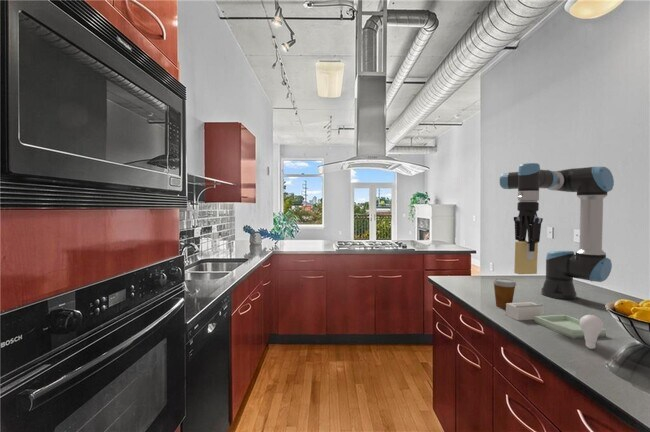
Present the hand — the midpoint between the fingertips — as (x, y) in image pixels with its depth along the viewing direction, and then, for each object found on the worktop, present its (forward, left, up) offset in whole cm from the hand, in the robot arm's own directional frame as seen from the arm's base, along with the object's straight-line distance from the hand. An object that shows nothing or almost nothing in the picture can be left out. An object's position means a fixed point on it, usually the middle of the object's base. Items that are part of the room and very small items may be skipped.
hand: (526, 258), depth 144 cm
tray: (-6, +15, -24) cm, 29 cm away
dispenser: (0, 0, -24) cm, 24 cm away
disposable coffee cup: (-2, -15, -24) cm, 29 cm away
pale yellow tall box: (0, 0, -6) cm, 6 cm away
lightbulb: (+3, +32, -24) cm, 40 cm away
